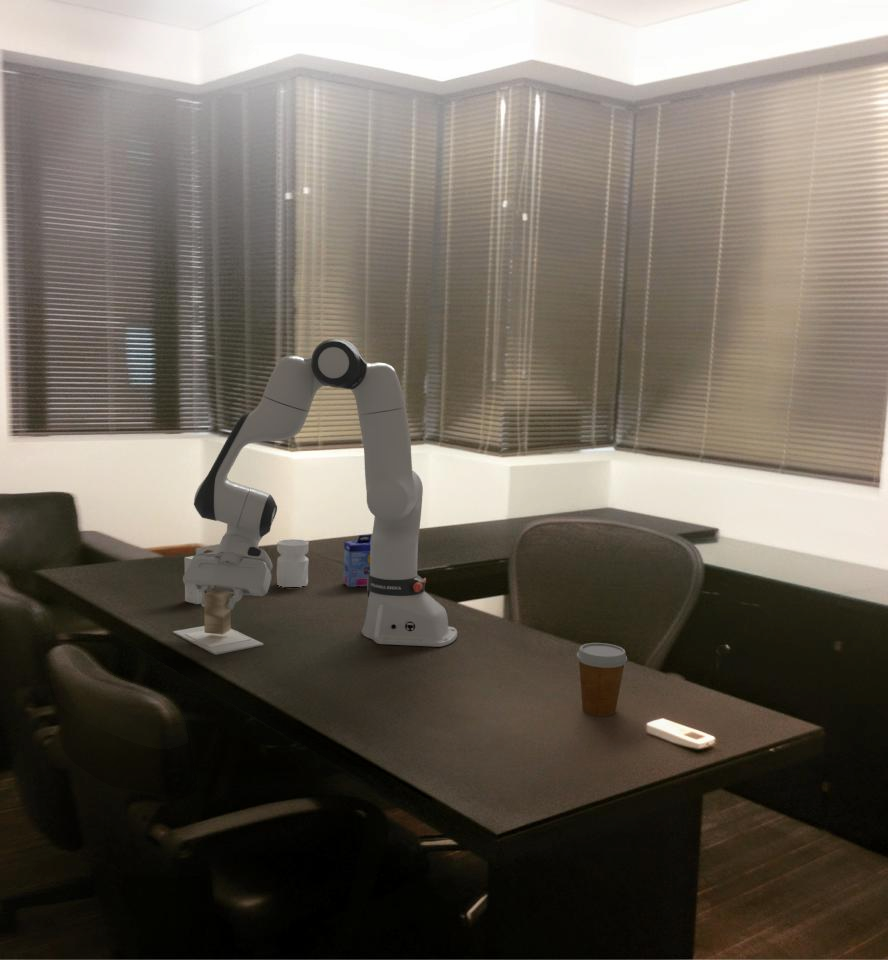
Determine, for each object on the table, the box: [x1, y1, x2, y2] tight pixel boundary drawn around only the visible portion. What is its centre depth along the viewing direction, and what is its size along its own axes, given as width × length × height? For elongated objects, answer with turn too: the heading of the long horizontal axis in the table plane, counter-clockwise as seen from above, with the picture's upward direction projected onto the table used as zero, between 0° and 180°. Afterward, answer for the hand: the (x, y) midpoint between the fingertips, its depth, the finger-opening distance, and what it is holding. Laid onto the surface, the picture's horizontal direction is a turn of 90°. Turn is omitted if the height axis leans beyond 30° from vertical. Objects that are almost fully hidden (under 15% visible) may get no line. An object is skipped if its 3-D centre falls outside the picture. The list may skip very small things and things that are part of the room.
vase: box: [276, 538, 310, 588], centre depth 284 cm, size 9×9×12 cm
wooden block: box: [203, 590, 232, 635], centre depth 231 cm, size 4×4×9 cm
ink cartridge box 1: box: [183, 543, 220, 605], centre depth 265 cm, size 9×5×15 cm, turn 143°
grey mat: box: [172, 625, 264, 656], centre depth 232 cm, size 20×12×1 cm, turn 41°
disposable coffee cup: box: [576, 642, 628, 717], centre depth 194 cm, size 10×10×12 cm
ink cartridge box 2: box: [342, 534, 372, 588], centre depth 287 cm, size 10×6×14 cm, turn 115°
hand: (216, 606), depth 231 cm, fingers closed on wooden block, 4 cm apart
